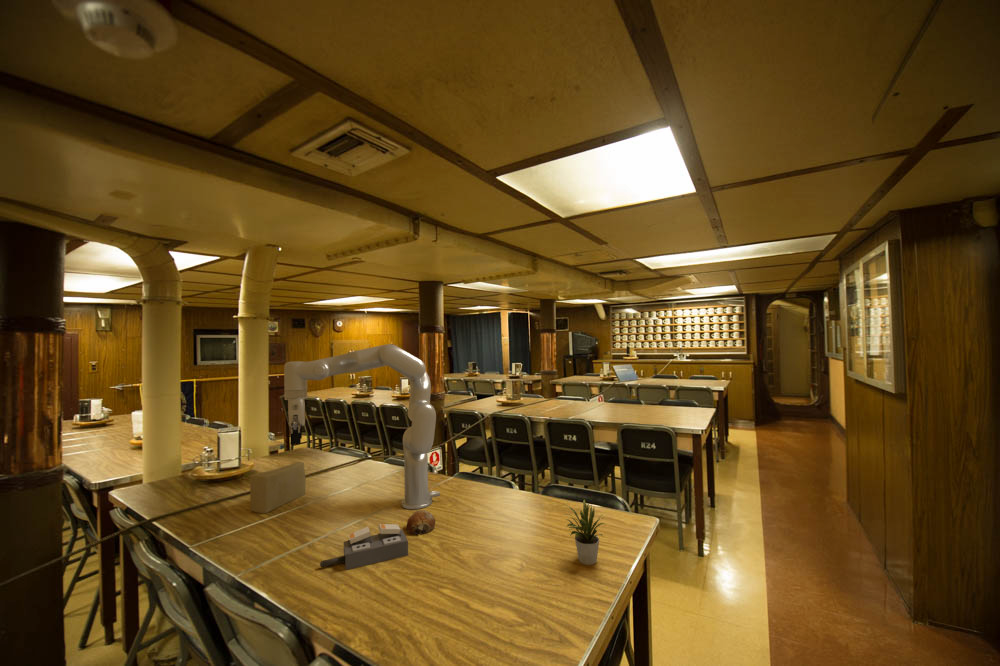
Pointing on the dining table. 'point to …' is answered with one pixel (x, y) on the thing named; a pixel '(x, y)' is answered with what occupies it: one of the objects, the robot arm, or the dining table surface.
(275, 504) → the beige slab
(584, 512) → the house plant
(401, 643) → the dining table surface
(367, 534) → the block
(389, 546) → the power strip
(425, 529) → the brown round lump
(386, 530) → the rocker
